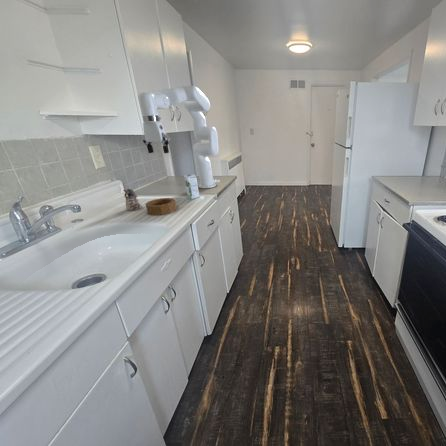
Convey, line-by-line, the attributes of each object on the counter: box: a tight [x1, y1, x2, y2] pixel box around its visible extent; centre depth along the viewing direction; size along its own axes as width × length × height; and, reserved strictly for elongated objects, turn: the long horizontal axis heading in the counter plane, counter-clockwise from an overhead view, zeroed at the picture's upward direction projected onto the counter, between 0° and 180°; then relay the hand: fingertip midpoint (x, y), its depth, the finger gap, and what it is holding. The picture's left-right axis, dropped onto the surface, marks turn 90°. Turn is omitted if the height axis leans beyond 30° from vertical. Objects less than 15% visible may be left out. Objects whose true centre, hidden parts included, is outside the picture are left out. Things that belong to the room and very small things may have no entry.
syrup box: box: [183, 173, 200, 200], centre depth 163 cm, size 6×6×14 cm
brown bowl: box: [144, 197, 178, 216], centre depth 142 cm, size 15×15×5 cm
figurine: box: [123, 188, 142, 212], centre depth 144 cm, size 7×7×12 cm
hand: (158, 152), depth 139 cm, fingers open, 9 cm apart
